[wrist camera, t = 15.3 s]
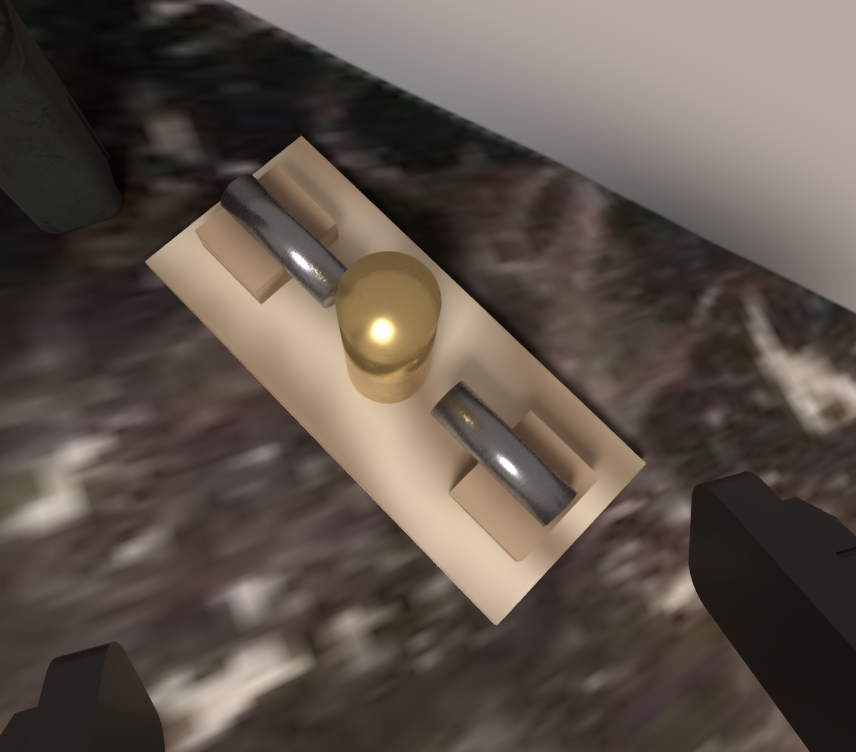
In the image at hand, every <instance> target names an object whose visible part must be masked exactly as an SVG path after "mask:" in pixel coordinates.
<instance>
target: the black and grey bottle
mask: <svg viewBox="0 0 856 752" xmlns="http://www.w3.org/2000/svg"><path fill="white" fill-rule="evenodd" d="M109 160H110V156H109V154H108V153H107V151H106V150H105V148H104V147H103V145H102V143H101V142H100V140H99V139H98V137H97V136H96V134H95V133H94V131H93V130H92V128H91V126H90V125H89V123H88V122H87V120H86V119H85V117H84V116H83V114H82V113H81V111H80V109H79V108H78V106H77V105H76V103H75V102H74V100H73V99H72V97H71V96H70V94H69V93H68V91H67V89H66V88H65V86H64V85H63V83H62V82H61V80H60V79H59V77H58V76H57V74H56V72H55V71H54V69H53V68H52V66H51V65H50V63H49V62H48V60H47V59H46V57H45V55H44V54H43V52H42V51H41V49H40V48H39V46H38V45H37V43H36V42H35V40H34V38H33V37H32V35H31V34H30V32H29V31H28V29H27V28H26V26H25V25H24V23H23V21H22V20H21V18H20V17H19V15H18V14H17V12H16V11H15V9H14V8H13V6H12V4H11V3H10V1H9V0H0V188H1V189H2V190H3V191H4V192H5V193H6V194H7V195H8V196H9V197H10V198H11V199H12V200H13V201H14V202H15V203H16V204H17V205H18V206H19V207H20V208H21V209H22V210H23V211H24V212H25V213H26V214H27V215H28V216H29V217H30V218H31V219H32V220H33V221H34V222H35V223H36V224H37V226H38V227H39V228H40V229H41V230H43V231H45V232H46V233H50V234H60V233H64V232H67V231H70V230H74V229H77V228H80V227H83V226H87V225H90V224H93V223H96V222H100V221H103V220H106V219H109V218H111V217H113V216H115V215H116V214H117V213H118V212H119V211H120V209H121V207H122V203H123V198H122V194H121V193H120V191H119V190H118V188H117V187H116V185H115V182H114V179H113V176H112V173H111V170H110V166H109V163H108V161H109Z"/></svg>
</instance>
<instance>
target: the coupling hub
mask: <svg viewBox="0 0 856 752" xmlns="http://www.w3.org/2000/svg"><path fill="white" fill-rule="evenodd" d="M441 303H442V300H441V292H440V288H439V285H438V282H437V280H436V278H435V276H434V275H433V274H432V272H431V271H430V270H429V269H428V268H427V266H425V265H424V264H423V263H422V262H420V261H419V260H417V259H416V258H414V257H412V256H410V255H407V254H404V253H400V252H394V251H382V252H376V253H372V254H369V255H366V256H364V257H362V258H360V259H359V260H357V261H356V262H354V263H353V264H352V265H351V266H350V267H349V268H348V269H347V270H346V271H345V273H344V274H343V275H342V277H341V279H340V281H339V283H338V286H337V290H336V295H335V306H336V312H337V318H338V323H339V329H340V334H341V339H342V345H343V350H344V355H345V361H346V366H347V371H348V375H349V378H350V380H351V383H352V384H353V386H354V387H355V388H356V390H357V391H358V392H359V393H360V394H362V395H363V396H364V397H366V398H368V399H370V400H372V401H374V402H378V403H384V404H392V403H398V402H401V401H404V400H406V399H408V398H410V397H411V396H413V395H414V394H415V393H417V391H418V390H419V389H420V388H421V387H422V385H423V384H424V382H425V380H426V377H427V374H428V370H429V365H430V360H431V355H432V350H433V345H434V340H435V336H436V331H437V326H438V321H439V316H440V311H441Z"/></svg>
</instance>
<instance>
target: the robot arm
mask: <svg viewBox="0 0 856 752" xmlns="http://www.w3.org/2000/svg"><path fill="white" fill-rule="evenodd" d="M689 570H690V575H691V578H692V582H693V585H694V587H695V590H696V592H697V594H698V596H699V598H700V600H701V602H702V603H703V605H704V606H705V608H706V609H707V611H708V612H709V613H710V615H711V616H712V617H713V619H714V620H715V622H716V623H717V624H718V626H719V627H720V629H721V630H722V631H723V633H724V634H725V635H726V637H727V638H728V640H729V641H730V642H731V644H732V645H733V646H734V648H735V649H736V651H737V652H738V653H739V655H740V656H741V657H742V659H743V660H744V662H745V663H746V664H747V666H748V667H749V669H750V670H751V671H752V673H753V674H754V675H755V677H756V678H757V680H758V681H759V682H760V684H761V685H762V686H763V688H764V689H765V691H766V692H767V693H768V695H769V696H770V697H771V699H772V700H773V702H774V703H775V704H776V706H777V707H778V709H779V710H780V711H781V713H782V714H783V715H784V717H785V718H786V720H787V721H788V722H789V724H790V725H791V726H792V728H793V729H794V731H795V732H796V733H797V735H798V736H799V737H800V739H801V740H802V742H803V743H804V744H805V746H806V747H807V749H808V750H809V751H810V752H856V536H855V535H854V534H853V533H852V532H851V531H850V530H849V529H847V528H846V527H845V526H844V525H843V524H842V523H841V522H840V521H839V520H838V519H837V518H836V517H834V516H832V515H830V514H828V513H826V512H824V511H823V510H821V509H819V508H817V507H815V506H813V505H811V504H809V503H807V502H805V501H803V500H801V499H799V498H797V497H795V498H791V499H787V500H784V501H782V500H781V499H780V498H779V497H778V496H777V495H776V494H775V493H774V492H773V491H772V490H771V489H770V488H769V487H768V486H767V485H766V484H765V483H764V482H763V481H762V480H761V479H760V478H759V477H758V476H757V475H755V474H753V473H751V472H742V473H738V474H735V475H731V476H727V477H724V478H720V479H716V480H713V481H709V482H705V483H702V484H698V485H696V486H695V488H694V489H693V493H692V505H691V524H690V543H689ZM0 752H165V744H164V736H163V730H162V726H161V722H160V718H159V716H158V713H157V711H156V709H155V707H154V705H153V703H152V701H151V699H150V697H149V696H148V694H147V692H146V690H145V688H144V686H143V684H142V682H141V680H140V679H139V677H138V675H137V673H136V671H135V669H134V667H133V665H132V663H131V662H130V660H129V658H128V656H127V654H126V652H125V650H124V649H123V647H122V646H121V645H120V644H119V643H118V642H111V643H108V644H104V645H100V646H97V647H93V648H89V649H86V650H82V651H78V652H75V653H71V654H67V655H64V656H60V657H56V658H55V659H53V660H52V662H51V663H50V665H49V667H48V670H47V673H46V677H45V681H44V685H43V688H42V692H41V696H40V700H39V704H38V707H36V708H32V709H29V710H25V711H21V712H18V713H15V714H14V716H13V717H12V719H11V720H10V722H9V723H8V724H7V726H6V727H5V729H4V730H3V732H2V733H1V735H0Z"/></svg>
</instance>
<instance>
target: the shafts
mask: <svg viewBox="0 0 856 752" xmlns="http://www.w3.org/2000/svg"><path fill="white" fill-rule="evenodd" d="M221 206H222V208H223V209H224V210H226V211H227V212H228V213H229V214H230V215H231V216H232V217H233V218H234V219H235V220H236V221H237V222H238V223H239V224H240V225H241V226H242V227H243V228H244V229H245V230H246V231H247V232H248V233H249V234H250V235H251V236H252V237H253V238H254V239H255V240H256V241H257V242H258V243H259V244H260V245H261V246H262V247H263V248H264V249H265V250H266V251H267V252H268V253H269V254H270V255H271V256H272V257H273V258H274V259H275V260H276V261H277V262H278V263H279V264H280V265H281V266H282V267H283V268H284V269H285V270H286V271H287V272H288V273H289V274H290V275H291V276H292V277H293V278H294V279H295V280H296V281H297V282H298V283H299V284H300V285H301V286H302V287H303V288H304V289H305V290H306V291H307V292H308V293H309V294H310V295H311V296H312V297H313V298H314V299H315V300H316V301H317V302H318V303H319V304H320V305H321V306H322V307H323V308H329V307H331V306H333V305H334V304H335V295H336V290H337V286H338V283H339V281H340V279H341V277H342V275H343V274H344V273H345V271H346V270H347V269H348V268H347V267H346V266H345V265H344V264H343V263H342V262H341V261H340V260H339V259H338V258H337V257H336V256H335V255H334V254H333V253H332V252H331V251H330V250H329V249H328V248H327V247H326V246H324V245H323V244H322V243H321V242H320V241H319V240H318V239H317V238H316V237H315V236H314V235H313V234H312V233H311V232H310V231H309V230H308V229H307V228H306V227H305V226H304V225H303V224H302V223H301V222H300V221H299V220H298V219H297V218H296V217H295V216H294V215H293V214H292V213H291V212H290V211H289V210H288V209H287V208H286V207H285V206H284V205H282V204H281V203H280V202H279V201H278V200H277V199H276V198H275V197H274V196H273V195H272V194H271V193H270V192H269V191H268V190H267V189H266V188H265V187H264V186H263V185H262V184H261V183H260V182H259V181H258V180H257V179H256V178H255V177H254V176H253V175H250V174H246V175H243V176H240V177H238V178H237V179H235V180H234V181H233V182H232V183H231V184H230V185H229V186H228V187H227V188H226V190H225V191H224V193H223V195H222V197H221ZM430 414H431V415H432V416H433V417H434V418H435V419H436V420H437V421H438V422H439V423H440V424H441V425H442V426H443V427H444V428H445V429H446V430H447V431H448V432H449V433H450V434H451V435H452V436H453V437H454V438H455V439H456V440H457V441H458V442H459V443H460V444H461V445H462V446H463V447H464V448H465V449H466V450H467V451H468V452H469V453H470V454H471V455H472V456H473V457H474V458H475V459H476V460H477V461H478V462H479V463H480V464H481V465H482V466H483V467H484V468H485V469H486V470H487V471H488V472H489V473H490V474H491V475H492V476H493V477H494V478H495V479H496V480H497V481H498V482H499V483H500V484H501V485H502V486H503V487H504V488H505V489H506V490H507V491H508V492H509V493H510V494H511V495H512V496H513V497H514V498H515V499H516V500H517V501H518V502H519V503H520V504H521V505H522V506H523V507H524V508H525V509H526V510H527V511H528V512H529V513H530V514H531V515H532V516H533V517H534V518H535V519H536V520H537V521H538V522H539V523H540V524H541V525H542V526H543V527H545V526H546V525H548V524H549V523H550V522H551V521H553V520H554V519H555V518H556V517H557V516H558V515H559V514H560V513H561V512H562V511H563V510H564V509H565V508H566V507H567V506H568V505H569V503H570V502H571V501H572V500H573V499H574V497H575V496H576V495H577V492H576V491H575V490H574V489H573V488H572V487H571V486H570V485H569V484H568V483H567V482H566V481H565V480H564V479H563V478H562V477H561V476H560V475H559V474H558V473H557V472H556V471H555V470H554V469H553V468H552V467H551V466H550V465H549V464H548V463H547V462H546V461H545V460H544V459H543V458H542V457H541V456H540V455H539V454H537V453H536V452H535V451H534V450H533V449H532V448H531V447H530V446H529V445H528V444H527V443H526V442H525V441H524V440H523V439H522V438H521V437H520V436H519V435H518V434H517V433H516V432H515V431H514V430H513V429H512V428H511V427H510V426H509V425H508V424H507V423H506V422H505V421H504V420H503V419H502V418H501V417H500V416H499V415H498V414H497V413H495V412H494V411H493V410H492V409H491V408H490V407H489V406H488V405H487V404H486V403H485V402H484V401H483V400H482V399H481V398H480V397H479V396H478V395H477V394H476V393H475V392H474V391H473V390H472V389H471V388H470V387H469V386H468V385H467V384H466V383H465V382H464V381H463V380H462V381H460V382H459V383H457V384H456V385H455V386H454V387H453V388H452V389H451V390H449V391H448V392H447V393H446V394H445V395H444V396H443V397H442V398H441V400H440V401H439V402H438V403H437V404H436V405H435V406H434V408H433V409H432V410H431V412H430Z"/></svg>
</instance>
